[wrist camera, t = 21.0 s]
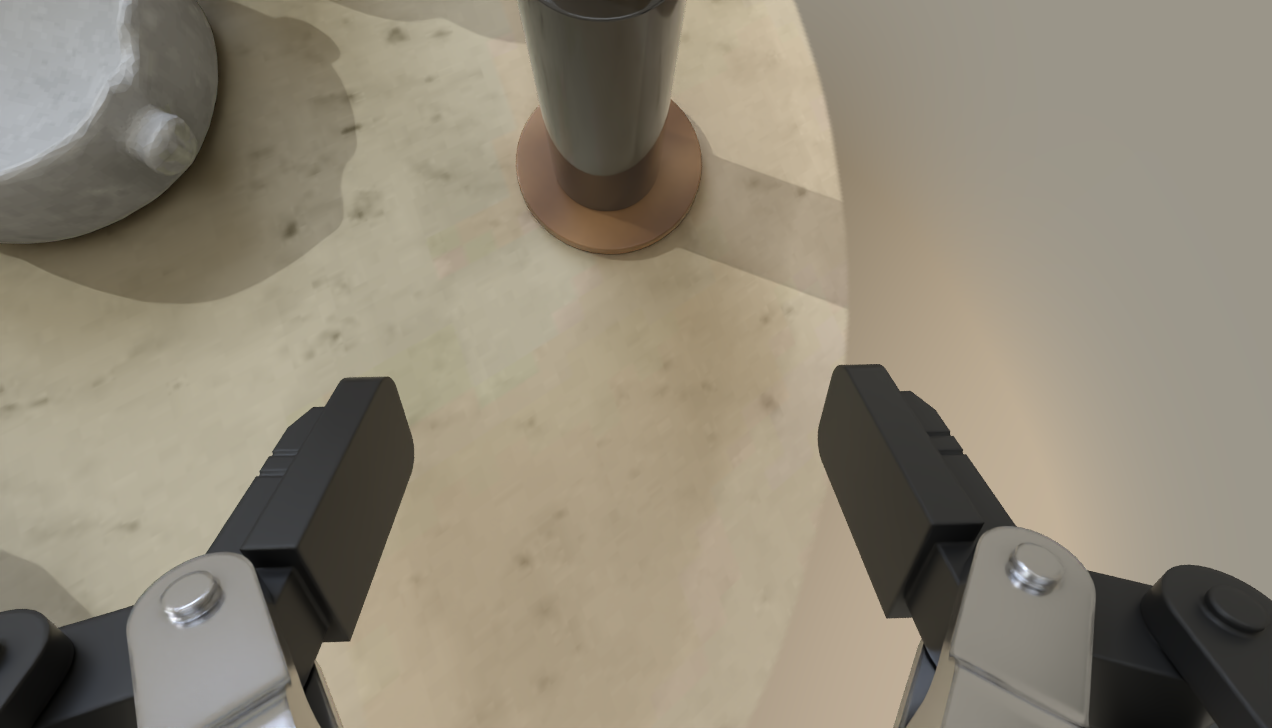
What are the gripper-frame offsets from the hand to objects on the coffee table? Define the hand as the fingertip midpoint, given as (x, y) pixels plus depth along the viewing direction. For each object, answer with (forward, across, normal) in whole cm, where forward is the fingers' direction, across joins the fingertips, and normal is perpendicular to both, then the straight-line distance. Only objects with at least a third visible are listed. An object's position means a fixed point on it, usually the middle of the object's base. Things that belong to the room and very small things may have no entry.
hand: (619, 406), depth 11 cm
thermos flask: (+17, 0, -1) cm, 17 cm away
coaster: (+17, 0, -1) cm, 17 cm away
